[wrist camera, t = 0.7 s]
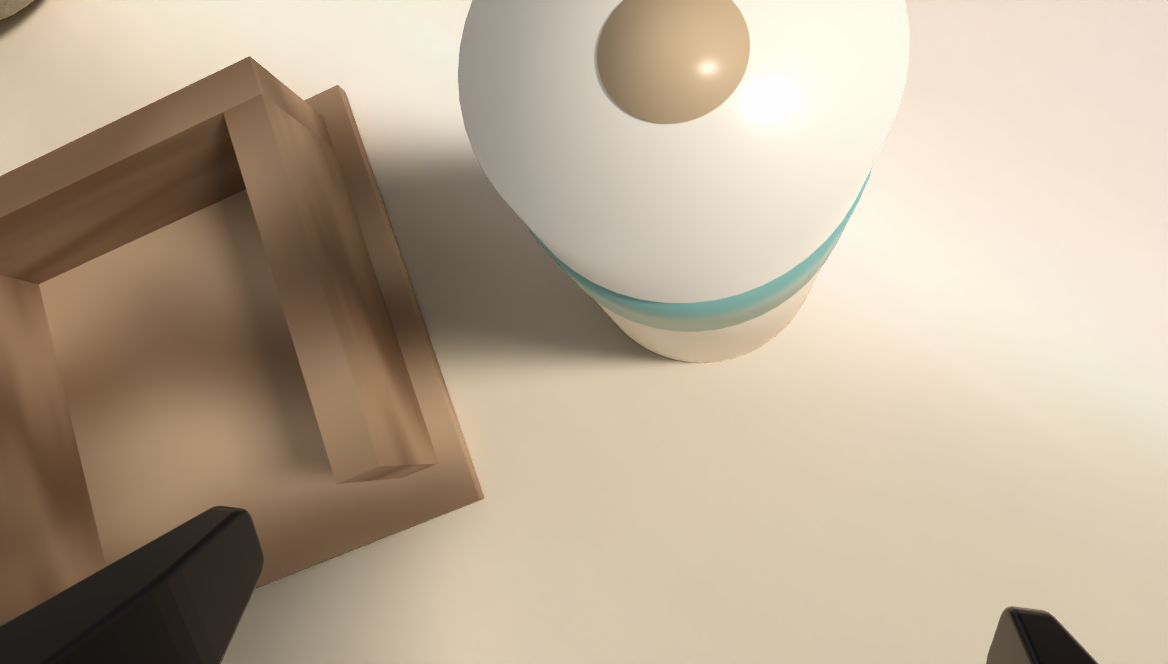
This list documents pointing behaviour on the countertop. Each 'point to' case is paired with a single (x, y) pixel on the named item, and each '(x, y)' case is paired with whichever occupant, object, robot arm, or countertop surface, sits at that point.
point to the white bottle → (684, 148)
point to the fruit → (12, 7)
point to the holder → (211, 341)
